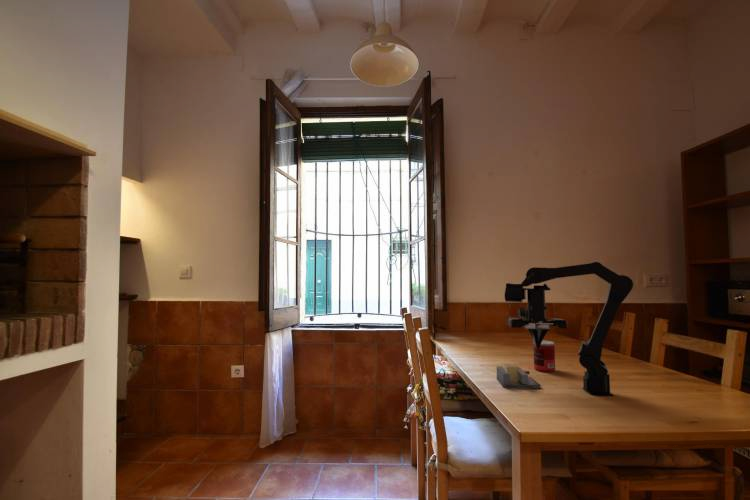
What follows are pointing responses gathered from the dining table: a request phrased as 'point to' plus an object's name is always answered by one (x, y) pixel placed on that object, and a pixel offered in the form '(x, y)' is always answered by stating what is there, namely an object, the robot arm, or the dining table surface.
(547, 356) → the canned food
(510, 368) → the block
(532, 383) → the vise base
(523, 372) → the jaw
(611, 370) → the dining table surface
